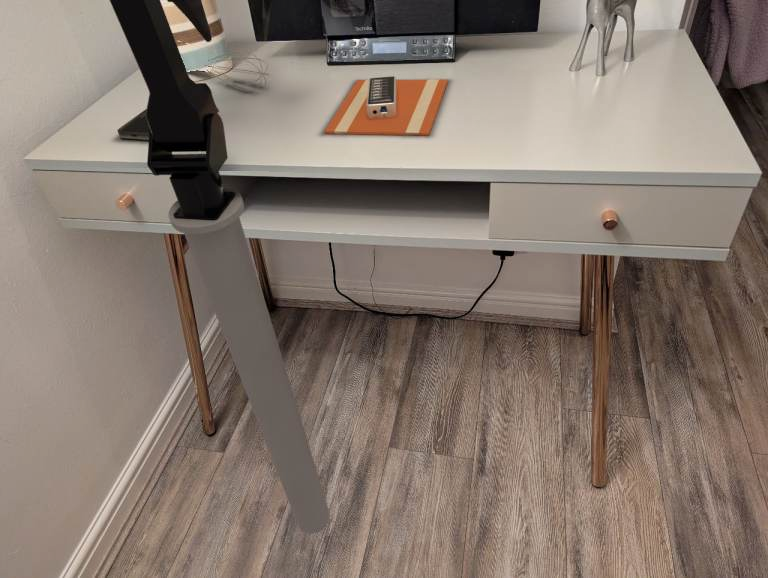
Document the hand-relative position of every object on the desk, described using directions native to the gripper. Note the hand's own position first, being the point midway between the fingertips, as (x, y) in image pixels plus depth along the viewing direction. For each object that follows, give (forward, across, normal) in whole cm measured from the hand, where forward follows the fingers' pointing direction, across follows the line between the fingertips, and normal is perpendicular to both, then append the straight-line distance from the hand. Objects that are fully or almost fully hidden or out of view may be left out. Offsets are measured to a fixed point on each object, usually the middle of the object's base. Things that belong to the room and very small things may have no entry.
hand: (236, 40), depth 87 cm
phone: (+12, +16, +2) cm, 20 cm away
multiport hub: (+12, -21, -4) cm, 24 cm away
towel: (+12, -22, -4) cm, 25 cm away
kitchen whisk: (+12, +16, -16) cm, 26 cm away
